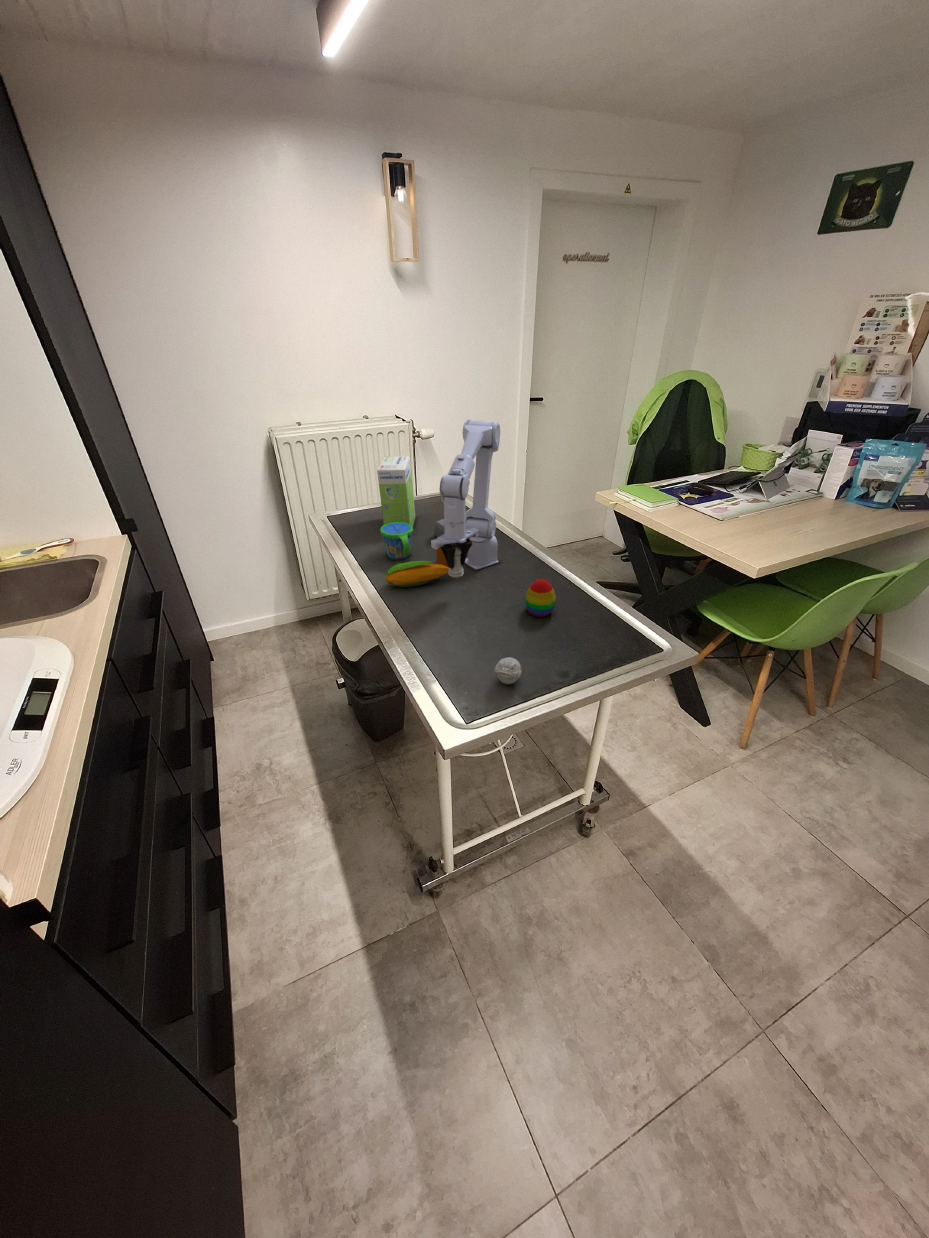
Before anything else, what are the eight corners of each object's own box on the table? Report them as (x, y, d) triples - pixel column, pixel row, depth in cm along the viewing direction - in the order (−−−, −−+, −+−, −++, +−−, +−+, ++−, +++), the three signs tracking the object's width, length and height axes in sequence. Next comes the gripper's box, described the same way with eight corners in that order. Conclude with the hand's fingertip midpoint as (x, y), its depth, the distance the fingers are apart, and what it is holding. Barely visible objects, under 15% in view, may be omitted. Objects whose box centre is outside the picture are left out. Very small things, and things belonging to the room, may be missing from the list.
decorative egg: (558, 618, 132) (561, 586, 127) (529, 621, 131) (531, 589, 126) (548, 602, 139) (552, 572, 134) (521, 605, 138) (523, 574, 132)
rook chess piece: (458, 579, 136) (458, 553, 132) (445, 575, 138) (444, 550, 134) (466, 573, 140) (466, 547, 135) (453, 569, 142) (453, 544, 137)
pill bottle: (445, 559, 163) (444, 536, 158) (453, 564, 159) (453, 542, 155) (433, 563, 160) (432, 540, 156) (441, 568, 157) (440, 545, 152)
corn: (381, 559, 146) (446, 551, 150) (384, 581, 150) (446, 571, 155) (385, 572, 140) (452, 562, 145) (388, 594, 145) (452, 584, 149)
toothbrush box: (390, 517, 194) (384, 455, 181) (415, 517, 194) (411, 455, 181) (383, 535, 180) (376, 469, 166) (411, 535, 180) (406, 469, 166)
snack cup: (421, 562, 161) (419, 534, 155) (390, 568, 157) (387, 539, 152) (407, 544, 173) (404, 517, 167) (378, 549, 169) (374, 522, 164)
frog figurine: (490, 688, 109) (490, 664, 105) (499, 670, 114) (500, 646, 110) (516, 695, 107) (517, 670, 103) (524, 676, 112) (526, 652, 108)
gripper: (440, 531, 124) (442, 578, 131) (485, 518, 131) (484, 563, 138) (425, 522, 129) (428, 568, 136) (470, 510, 135) (470, 554, 143)
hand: (455, 565), depth 137 cm, fingers closed on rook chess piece, 3 cm apart
